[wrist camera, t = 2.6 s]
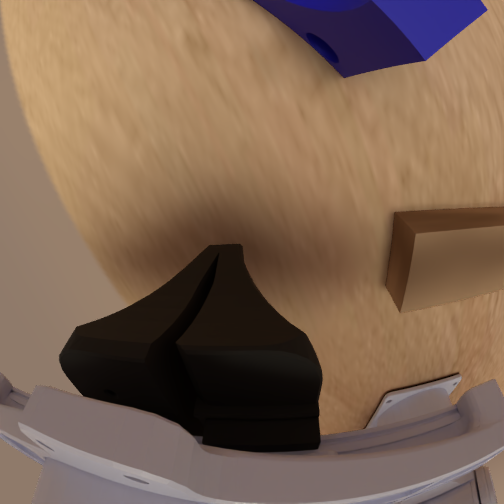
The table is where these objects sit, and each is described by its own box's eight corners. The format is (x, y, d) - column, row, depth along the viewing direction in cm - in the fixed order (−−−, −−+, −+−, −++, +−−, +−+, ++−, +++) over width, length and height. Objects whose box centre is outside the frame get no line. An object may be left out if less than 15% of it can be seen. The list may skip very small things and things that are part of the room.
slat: (521, 257, 12) (541, 277, 10) (383, 281, 13) (400, 313, 11) (535, 203, 10) (559, 220, 8) (391, 208, 11) (415, 233, 9)
